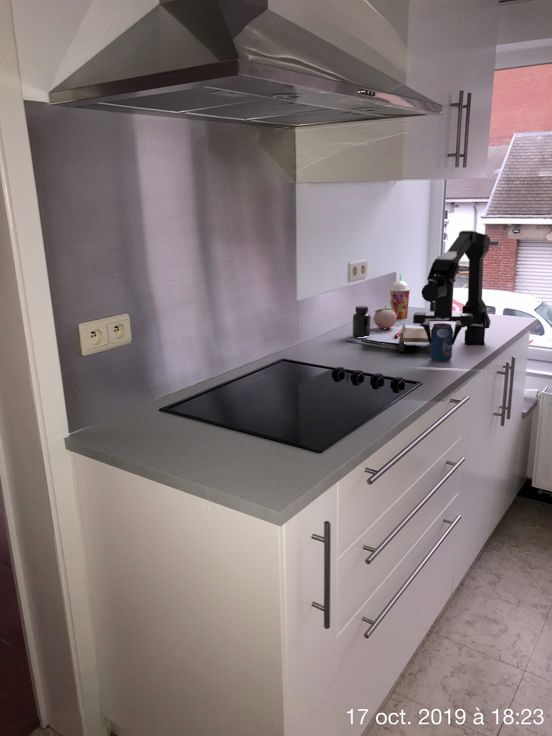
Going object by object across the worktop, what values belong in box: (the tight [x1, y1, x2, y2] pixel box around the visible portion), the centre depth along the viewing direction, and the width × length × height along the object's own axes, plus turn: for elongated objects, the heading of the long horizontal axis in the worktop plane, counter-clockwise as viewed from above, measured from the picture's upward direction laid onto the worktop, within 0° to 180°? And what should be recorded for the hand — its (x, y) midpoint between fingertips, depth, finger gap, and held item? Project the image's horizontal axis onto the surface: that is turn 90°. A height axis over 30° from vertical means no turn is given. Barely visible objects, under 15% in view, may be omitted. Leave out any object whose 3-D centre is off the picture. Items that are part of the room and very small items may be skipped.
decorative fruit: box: [373, 305, 398, 329], centre depth 251 cm, size 9×8×10 cm
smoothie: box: [390, 273, 411, 320], centre depth 269 cm, size 8×8×20 cm
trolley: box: [398, 323, 432, 353], centre depth 222 cm, size 13×17×7 cm
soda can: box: [429, 322, 454, 363], centre depth 205 cm, size 7×7×12 cm
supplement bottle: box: [352, 305, 371, 339], centre depth 240 cm, size 7×7×12 cm
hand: (441, 344), depth 205 cm, fingers closed on soda can, 7 cm apart
